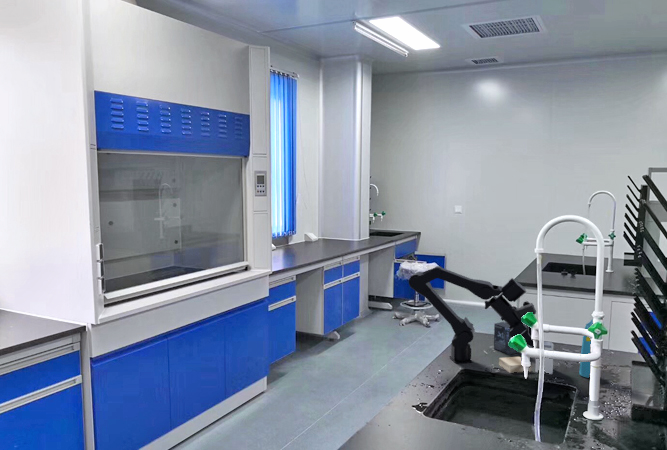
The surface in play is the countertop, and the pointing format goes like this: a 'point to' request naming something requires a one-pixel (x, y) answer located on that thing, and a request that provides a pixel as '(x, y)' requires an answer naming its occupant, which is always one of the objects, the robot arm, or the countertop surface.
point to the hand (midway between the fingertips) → (537, 343)
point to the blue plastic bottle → (585, 350)
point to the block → (512, 364)
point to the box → (502, 338)
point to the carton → (546, 359)
